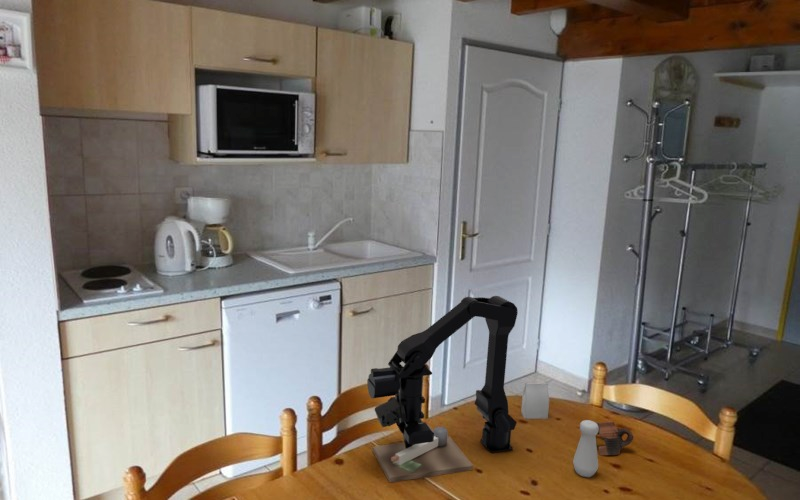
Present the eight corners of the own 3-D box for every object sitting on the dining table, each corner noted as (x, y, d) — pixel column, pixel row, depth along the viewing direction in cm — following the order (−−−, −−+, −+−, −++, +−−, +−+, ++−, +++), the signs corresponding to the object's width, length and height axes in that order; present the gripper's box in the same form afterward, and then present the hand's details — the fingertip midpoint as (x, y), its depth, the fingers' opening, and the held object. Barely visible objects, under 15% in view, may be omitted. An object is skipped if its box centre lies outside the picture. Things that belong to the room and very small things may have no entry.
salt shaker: (598, 481, 138) (603, 430, 135) (573, 477, 139) (578, 426, 136) (595, 468, 143) (600, 418, 141) (571, 464, 144) (576, 415, 142)
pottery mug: (588, 457, 149) (582, 424, 152) (588, 456, 158) (582, 424, 160) (638, 453, 146) (630, 419, 149) (635, 452, 155) (628, 420, 157)
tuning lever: (439, 437, 152) (439, 425, 151) (449, 443, 150) (450, 430, 149) (387, 463, 139) (387, 449, 138) (397, 469, 137) (398, 455, 136)
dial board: (449, 440, 154) (449, 435, 154) (472, 469, 140) (473, 464, 140) (372, 450, 147) (372, 445, 147) (389, 482, 134) (389, 477, 134)
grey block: (547, 418, 169) (550, 386, 167) (524, 418, 168) (527, 386, 166) (543, 412, 172) (546, 381, 171) (521, 413, 172) (523, 381, 170)
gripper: (368, 378, 147) (367, 434, 150) (389, 414, 129) (387, 476, 133) (410, 374, 150) (408, 429, 153) (436, 408, 133) (433, 469, 136)
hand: (408, 450), depth 144 cm, fingers closed
